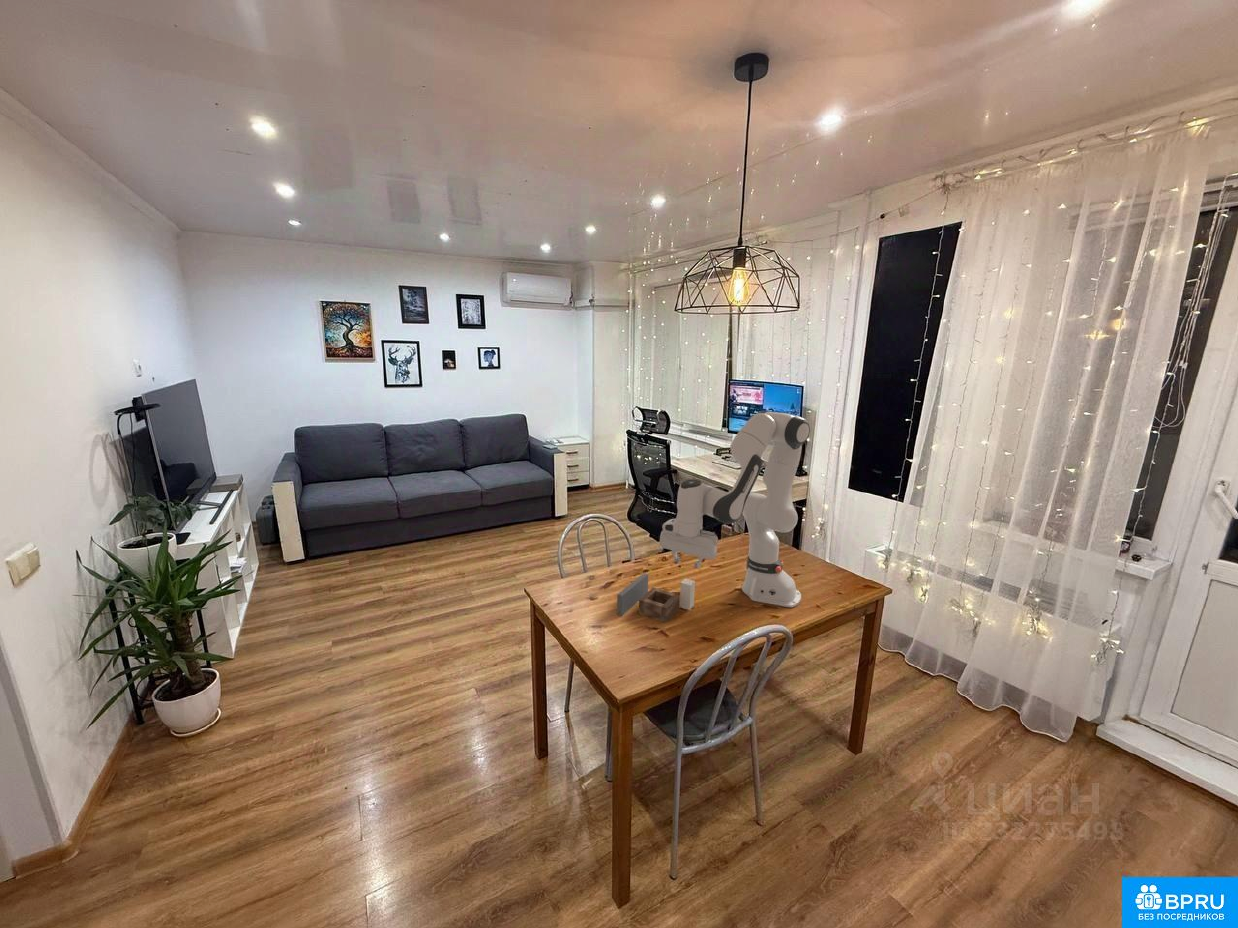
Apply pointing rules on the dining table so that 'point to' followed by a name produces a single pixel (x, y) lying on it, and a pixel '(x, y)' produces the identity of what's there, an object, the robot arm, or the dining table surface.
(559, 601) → the dining table surface
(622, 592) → the wall
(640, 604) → the brown square open box
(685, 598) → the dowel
